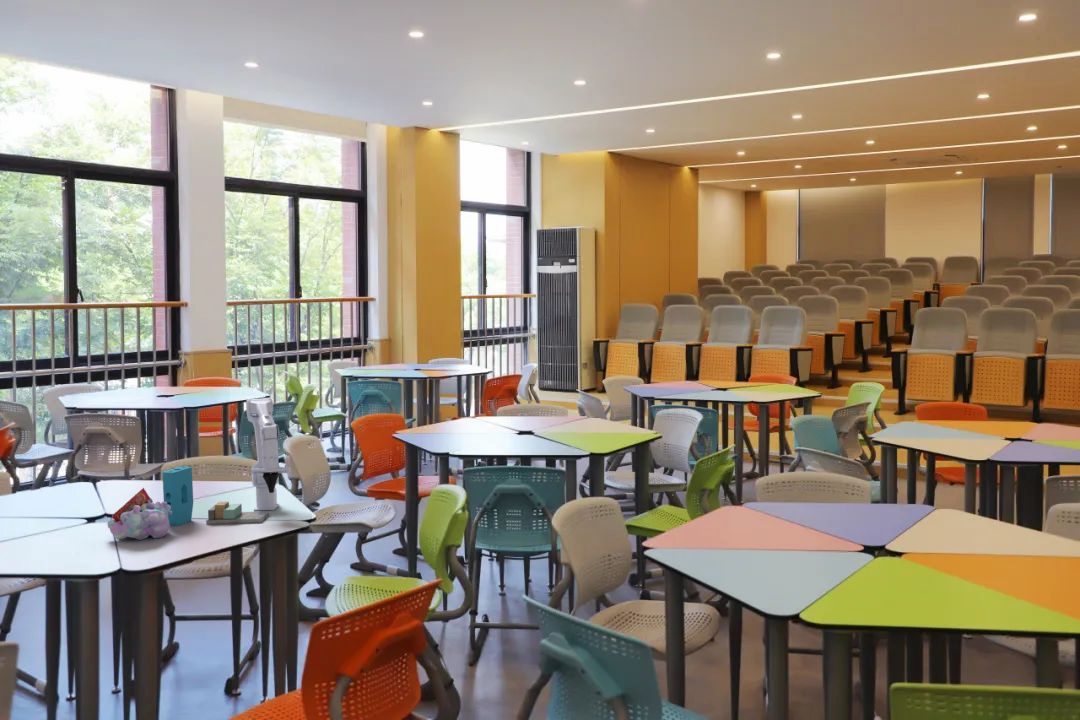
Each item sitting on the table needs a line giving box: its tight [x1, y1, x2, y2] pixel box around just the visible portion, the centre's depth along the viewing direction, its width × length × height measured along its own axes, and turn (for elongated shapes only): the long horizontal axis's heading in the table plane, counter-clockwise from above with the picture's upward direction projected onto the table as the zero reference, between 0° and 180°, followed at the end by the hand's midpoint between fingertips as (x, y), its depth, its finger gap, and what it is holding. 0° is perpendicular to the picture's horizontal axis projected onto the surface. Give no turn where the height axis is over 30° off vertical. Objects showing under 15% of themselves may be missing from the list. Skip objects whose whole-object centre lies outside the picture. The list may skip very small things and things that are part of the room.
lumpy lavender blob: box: [107, 487, 172, 541], centre depth 323 cm, size 20×22×18 cm
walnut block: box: [214, 500, 230, 518], centre depth 346 cm, size 6×4×5 cm, turn 3°
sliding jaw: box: [223, 503, 243, 519], centre depth 347 cm, size 10×4×3 cm, turn 3°
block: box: [162, 466, 194, 527], centre depth 343 cm, size 12×5×20 cm, turn 167°
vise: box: [205, 505, 270, 525], centre depth 347 cm, size 12×20×5 cm, turn 93°
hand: (271, 492), depth 350 cm, fingers closed
